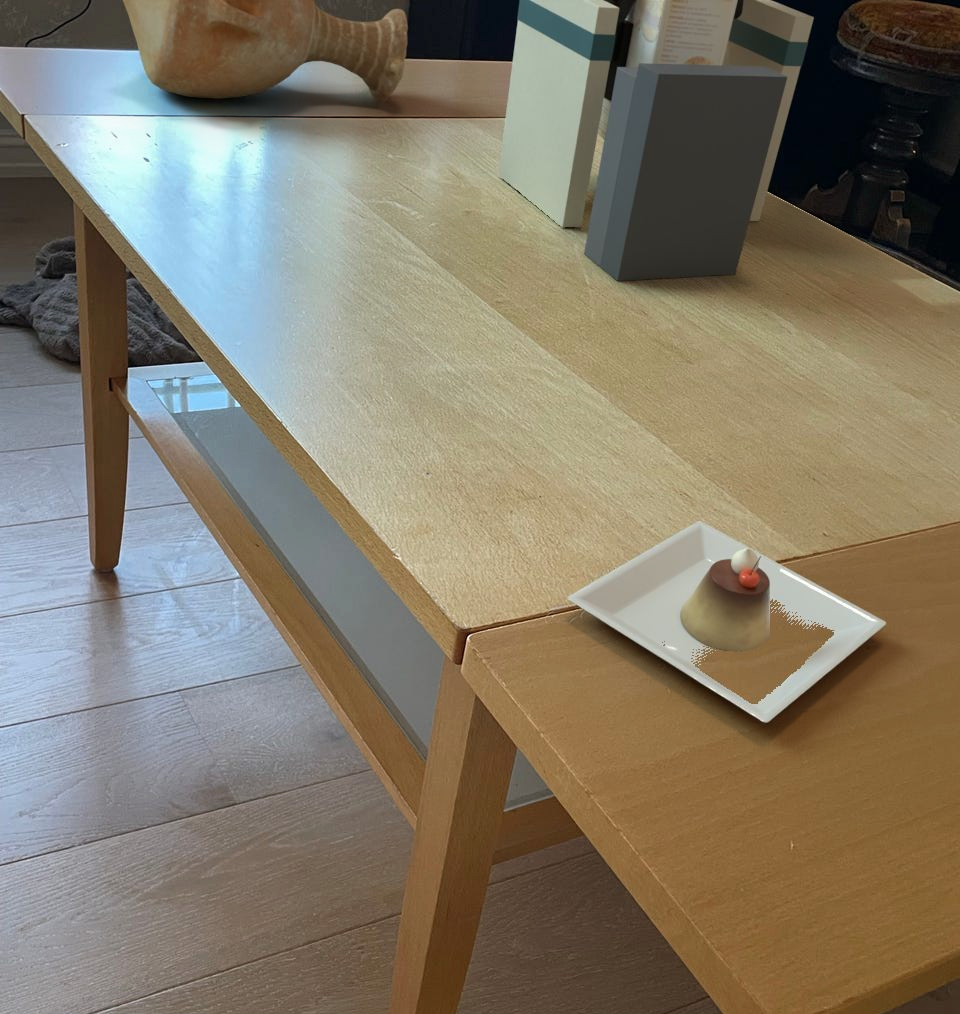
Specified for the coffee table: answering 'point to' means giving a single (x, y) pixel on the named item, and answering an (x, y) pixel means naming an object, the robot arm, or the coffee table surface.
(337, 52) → the jug
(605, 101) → the coffeecake box
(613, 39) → the cream books
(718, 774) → the coffee table surface
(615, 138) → the grey books
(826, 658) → the dessert
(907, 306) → the coffee table surface
